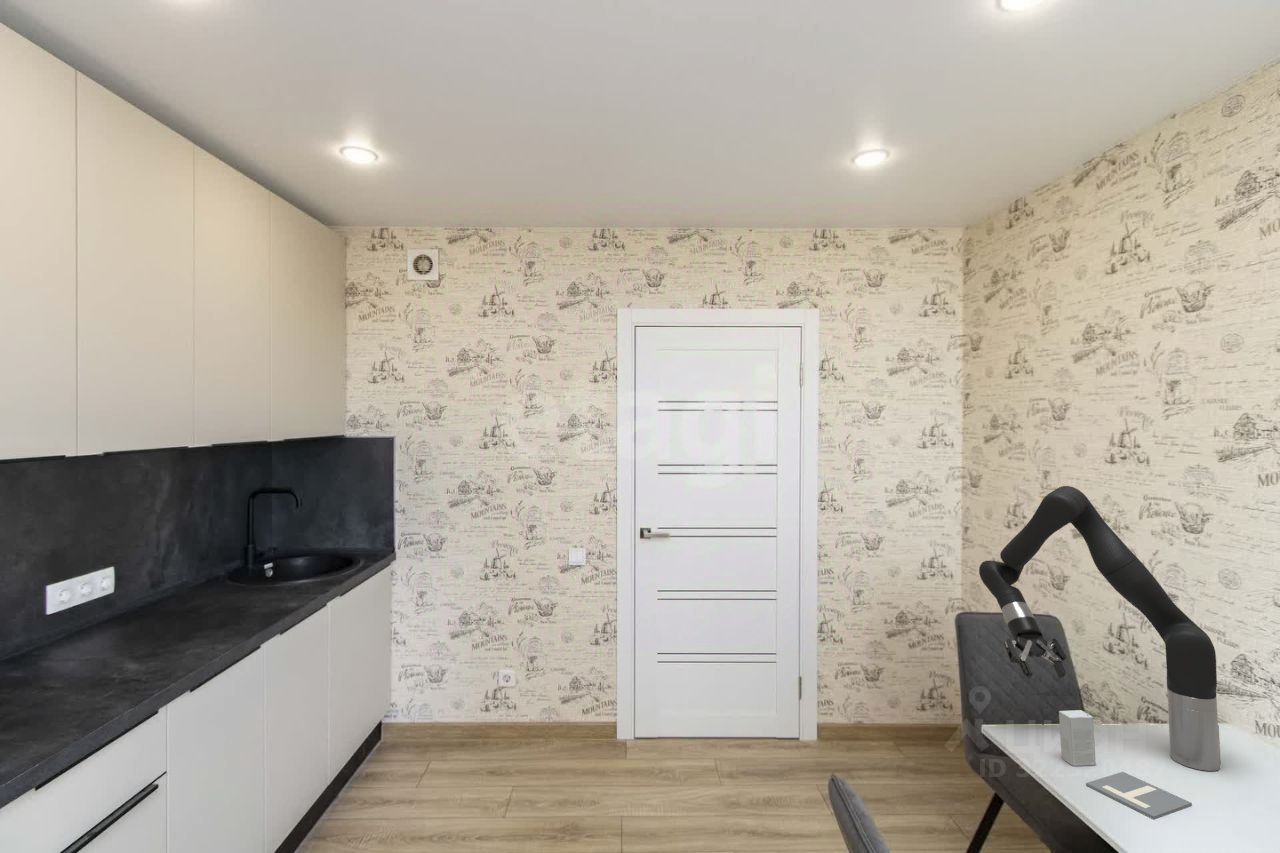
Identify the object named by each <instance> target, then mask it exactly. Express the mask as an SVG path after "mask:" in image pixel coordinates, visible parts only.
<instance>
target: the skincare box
mask: <svg viewBox="0 0 1280 853" xmlns="http://www.w3.org/2000/svg"><path fill="white" fill-rule="evenodd" d="M1058 718H1059V719H1058V720H1059V734H1060V735H1059V737H1060V738H1059V739H1060V752H1061V753H1060V754H1061V755H1060V756H1061V759H1062V760H1064V761H1065V762H1067V763H1068V764H1069V765H1071V766H1072V767H1081V766H1082V767H1083V766H1096V765H1097V763H1096V761H1097V760H1096V744H1095V742H1096V741H1095V731H1094V730H1095V728H1094V727H1095V726H1094V725H1095V724H1094V717H1093V716H1092V715H1090V714H1089V713H1087V712H1085V711H1083V710H1081V709H1079V710H1078V709H1075V710H1059V711H1058Z"/></svg>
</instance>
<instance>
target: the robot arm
mask: <svg viewBox="0 0 1280 853" xmlns="http://www.w3.org/2000/svg"><path fill="white" fill-rule="evenodd" d="M1068 524H1072V526H1073V527H1074V528H1075V530H1077V531H1078V532H1079V533H1080V535H1081V536H1082V538H1083V540H1084V541H1085V543H1086V545H1087V546H1086V547H1087V548H1088V551H1089V553H1090V556H1091V559H1092V560H1093V563H1094V566H1096V569H1097V570H1098V571H1099V573H1100V574H1101V575H1102V576H1103V577H1104V579H1105V580H1106V581H1107V582H1108V584H1110V586H1111V587H1112V588H1113V589H1114V590H1115V591H1116V592H1117V593H1118V594H1119V596H1121V597H1122V598H1123V599H1125V600H1126V601H1127V602H1128V603H1129V604H1130V605H1132V606H1133V607H1134V608H1136V609H1137V610H1138V611H1140V613H1141V614H1142V615H1143V616H1144V617H1145V618H1146V619H1147V620H1148V622H1149V623H1150V624H1151V625H1152V627H1153V628H1154V629H1155V630H1156V632H1157V633H1158V635H1159V636H1160V638H1161V639H1162V641H1163V642H1164V646H1165V660H1166V661H1165V662H1166V691H1167V708H1168V709H1167V712H1168V732H1169V753H1170V758H1171V759H1172V760H1173V761H1175V762H1176V763H1178V764H1181V765H1183V766H1184V767H1187V768H1188V767H1189V768H1192V769H1196V770H1201V771H1207V772H1215V771H1219V770H1220V769H1221V762H1222V760H1221V743H1220V726H1219V721H1218V717H1219V716H1218V704H1217V703H1218V702H1217V687H1218V681H1217V678H1218V677H1217V675H1218V674H1217V656H1216V649H1215V646H1214V644H1213V641H1212V639H1211V638H1210V636H1209V634H1207V633H1206V632H1205V631H1204V630H1203V629H1202V628H1201V627H1199V626H1198V625H1197V624H1196V623H1195V622H1194V621H1193V620H1192V619H1191V618H1190V617H1189V616H1188V615H1187V614H1185V613H1184V612H1183V611H1182V610H1181V608H1179V607H1178V605H1176V603H1175V602H1173V600H1172V599H1171V598H1170V597H1169V595H1168V593H1167V592H1166V591H1165V590H1164V589H1163V587H1162V585H1161V584H1160V583H1159V582H1158V580H1157V579H1156V577H1155V576H1154V575H1153V574H1152V572H1151V571H1150V570H1149V569H1148V568H1147V567H1146V565H1144V564H1143V562H1142V561H1141V560H1140V559H1139V558H1138V556H1136V555H1135V554H1134V553H1133V552H1132V550H1131V549H1130V548H1128V546H1127V545H1126V544H1125V542H1123V541H1122V539H1120V538H1121V537H1119V536H1118V535H1117V534H1116V533H1115V532H1114V531H1113V530H1112V528H1111V527H1110V526H1109V525H1108V524H1107V523H1106V521H1105V520H1104V519H1103V517H1102V516H1101V514H1100V513H1099V512H1098V511H1097V509H1096V508H1095V507H1094V505H1093V503H1092V502H1091V500H1090V499H1089V498H1088V497H1087V496H1086V495H1085V493H1083V492H1082V491H1081V490H1080V489H1078V488H1076V487H1074V486H1070V485H1069V486H1068V485H1064V486H1063V485H1062V486H1059V487H1057V488H1055V489H1054V490H1052V491H1051V492H1049V493H1047V494H1046V495H1045V496H1044V497H1043V498H1042V500H1041V502H1040V503H1039V505H1038V507H1037V509H1036V511H1035V512H1034V513H1033V515H1032V517H1031V518H1030V520H1029V521H1028V522H1027V524H1026V525H1025V526H1023V528H1022V529H1020V531H1019V532H1018V533H1017V534H1016V535H1015V536H1014V537H1013V538H1012V539H1011V540H1010V541H1009V542H1008V543H1007V544H1006V545H1005V547H1003V549H1002V550H1001V552H1000V554H999V555H1000V557H999V558H1000V560H1001V561H997V560H996V561H995V560H985V561H982V562H981V563H980V566H979V568H978V572H979V577H980V580H981V581H982V583H983V584H984V586H985V587H986V588H987V589H988V591H989V592H990V593H991V594H992V595H993V597H994V598H995V599H996V601H997V603H998V606H999V607H1000V608H999V609H1000V611H1001V613H1002V615H1003V619H1004V623H1005V624H1006V626H1007V629H1008V631H1009V633H1010V635H1011V637H1012V639H1011V638H1007V639H1006V640H1005V641H1004V644H1003V646H1004V648H1005V650H1006V653H1007V656H1008V659H1009V661H1010V663H1013V664H1018V666H1019V667H1020V669H1021V671H1022V674H1023V675H1024V676H1026V678H1027V679H1029V678H1032V677H1033V672H1032V670H1031V667H1030V664H1029V663H1028V661H1026V660H1027V658H1028V657H1029V658H1033V657H1038V658H1040V657H1042V658H1043V659H1044V660H1047V661H1049V662H1050V663H1052V664H1053V665H1052V666H1053V668H1054V670H1055V672H1056V674H1057V677H1058V678H1060V679H1063V678H1064V677H1065V676H1066V673H1067V672H1066V669H1065V668H1064V666H1063V663H1064V661H1065V660H1066V659H1067V655H1066V654H1065V652H1064V650H1063V649H1062V646H1061V645H1060V643H1059V641H1058V640H1057V639H1056V638H1052V639H1051V640H1046V639H1045V638H1044V636H1043V632H1042V630H1041V629H1040V626H1039V624H1038V622H1037V620H1036V618H1035V616H1034V613H1033V611H1032V610H1031V609H1030V607H1029V606H1028V604H1027V602H1026V599H1025V597H1024V596H1023V593H1022V592H1021V590H1020V589H1019V588H1017V587H1016V586H1014V584H1016V583H1017V582H1018V580H1019V579H1020V576H1021V574H1022V572H1023V570H1024V567H1025V565H1027V564H1028V562H1030V560H1032V559H1033V557H1035V555H1036V554H1037V553H1038V552H1039V551H1040V549H1041V548H1042V547H1043V545H1044V543H1046V541H1047V540H1048V539H1049V538H1050V537H1051V536H1052V535H1053V534H1055V533H1056V532H1057V531H1059V530H1061V529H1062V528H1064V527H1065V526H1067V525H1068ZM1016 648H1017V649H1019V650H1020V653H1019V656H1018V654H1017V651H1016Z"/></svg>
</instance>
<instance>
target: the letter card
mask: <svg viewBox="0 0 1280 853" xmlns="http://www.w3.org/2000/svg"><path fill="white" fill-rule="evenodd" d="M1085 786H1086V787H1088V788H1090V789H1092V790H1094V791H1096V792H1097V793H1100V794H1103V795H1104V796H1106V797H1108V798H1110V799H1112V800H1114V801H1116V802H1118V803H1120V804H1122V805H1124V806H1126V807H1128V808H1130V809H1132V810H1134V809H1135V810H1134V811H1136V812H1138V813H1140V812H1141V813H1140V814H1142V813H1143V814H1142V815H1144V814H1145V815H1144V816H1146V815H1147V816H1146V817H1148V816H1149V818H1150V817H1151V818H1150V819H1152V820H1156V819H1159V818H1161V817H1164V816H1167V815H1169V814H1172V813H1175V812H1178V811H1181V810H1183V809H1186V808H1189V807H1192V806H1193V805H1192V802H1191V801H1188V800H1186V799H1184V798H1182V797H1180V796H1177V795H1176V794H1173V793H1172V792H1169V791H1166V790H1164V789H1162V788H1161V787H1158V786H1155V785H1153V784H1151V783H1149V782H1146V781H1145V780H1142V779H1140V778H1138V777H1136V776H1134V775H1131V774H1129V773H1127V772H1125V771H1121V772H1116V773H1114V774H1111V775H1107V776H1105V777H1101V778H1098V779H1097V778H1096V779H1095V780H1092V781H1087V782H1085Z"/></svg>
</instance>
